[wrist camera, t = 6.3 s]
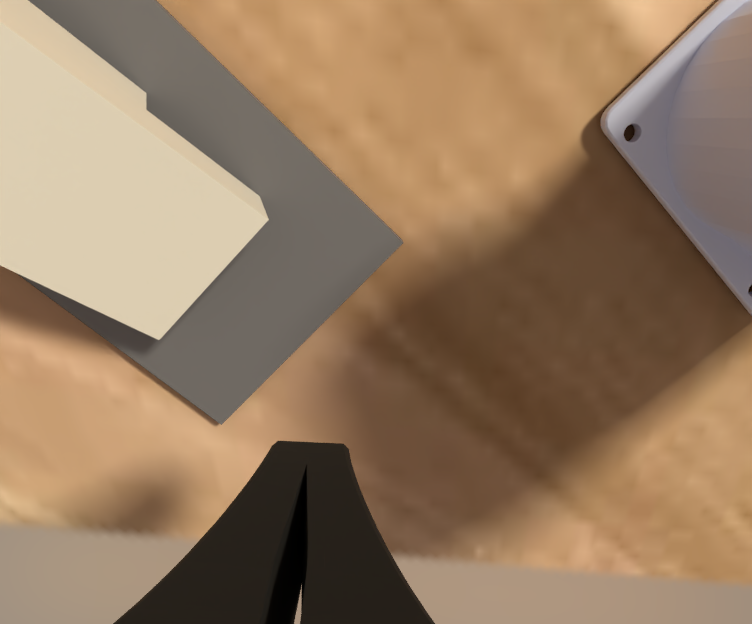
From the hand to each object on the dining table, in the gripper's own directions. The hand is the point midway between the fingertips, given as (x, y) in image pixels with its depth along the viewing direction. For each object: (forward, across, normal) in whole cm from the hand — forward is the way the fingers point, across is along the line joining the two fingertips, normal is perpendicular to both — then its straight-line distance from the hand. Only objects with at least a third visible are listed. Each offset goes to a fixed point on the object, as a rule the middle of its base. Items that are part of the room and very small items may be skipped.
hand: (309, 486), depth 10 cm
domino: (+7, +4, -2) cm, 8 cm away
